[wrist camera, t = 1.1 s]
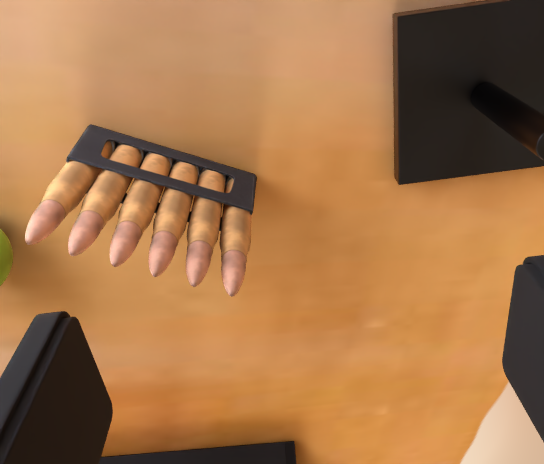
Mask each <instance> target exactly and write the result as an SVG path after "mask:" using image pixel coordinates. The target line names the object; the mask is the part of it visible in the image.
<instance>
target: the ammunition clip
mask: <svg viewBox="0 0 544 464" xmlns="http://www.w3.org/2000/svg"><path fill="white" fill-rule="evenodd" d="M66 162H67V163H66V165H65V166H64V167H63V168H62V170H61V171H60V172H59V173H58V175H57V176H56V177H55V178H54V180H53V181H52V182H51V183H50V184H49V186H48V187H47V190H46V192H45V195H44V197H43V199H42V200H41V202H40V203H39V206H38V207H37V209H36V210H35V211H34V213H33V215H32V217H31V219H30V221H29V223H28V226H27V229H26V233H25V240H26V244H28V245H33V244H36V243H38V242H40V241H42V240H43V239H45V238H46V237H47V236H49V235H50V234H51V233H52V232H53V231H54V230H55V229H56V228H57V227H58V225H59V224H60V223H61V221H62V220H63V219H64V218H65V217H66V216H67V214H68V213H69V212H71V211H72V210H73V209H74V208H76V207H77V206H78V204H79V203H80V201H81V200H82V198H83V197H84V195H85V194H87V195H86V196H85V198H84V201H83V204H82V209H81V211H80V213H79V215H78V217H77V220H76V221H75V223H74V226H73V228H72V231H71V233H70V237H69V243H68V249H69V253H70V255H71V256H76V255H78V254H80V253H82V252H83V251H85V250H86V249H87V248H88V247H89V246H90V245H91V244H92V243H93V242H94V241H95V239H96V238H97V237H98V235H99V233H100V231H101V230H102V229H103V228H104V226H105V224H106V223H107V221H108V220H110V219H111V218H112V217H113V216H114V214H115V212H116V210H117V208H118V207H119V205H120V203H122V204H123V205H122V207H121V209H120V211H119V220H118V223H117V226H116V230H115V232H114V235H113V237H112V241H111V245H110V261H111V264H112V265H113V266H114V267H117V266H119V265H121V264H123V263H124V262H125V261H126V260H127V259H128V258H129V257H130V256H131V254H132V253H133V251H134V250H135V248H136V246H137V244H138V242H139V239H140V238H141V236H142V234H143V232H144V230H145V229H146V228H147V227H148V226H149V224H150V222H151V220H152V218H153V215H154V213H156V216H155V219H154V224H153V231H154V232H153V236H152V242H151V245H150V250H149V269H150V272H151V274H152V275H153V276H154V277H157V276H159V275H160V274H162V273H163V272H164V271H165V269H166V268H167V267H168V265H169V264H170V262H171V260H172V258H173V256H174V253H175V250H176V247H177V245H178V242H179V239H180V238H181V236H182V235H183V233H184V231H185V228H186V224H187V222H189V225H188V230H187V240H188V246H187V256H186V273H187V277H188V280H189V283H190V284H191V286H193V287H196V286H197V285H199V284H200V283H201V282H202V280H203V278H204V277H205V275H206V273H207V271H208V268H209V265H210V261H211V256H212V253H213V249H214V245H215V244H216V242H217V240H218V234H219V231H221V234H220V249H221V252H222V254H221V261H222V267H221V271H222V280H223V284H224V287H225V289H226V291H227V293H228V294H229V295H230V296H234V295H236V294H237V292H238V291H239V289H240V287H241V285H242V283H243V280H244V275H245V269H246V261H247V254H248V252H249V249H250V243H251V215H252V213H253V207H254V198H255V189H256V180H257V177H256V175H255V174H253V173H249V172H246V171H243V170H239V169H236V168H233V167H230V166H226V165H223V164H220V163H216V162H213V161H210V160H206V159H203V158H200V157H197V156H193V155H190V154H187V153H183V152H180V151H177V150H174V149H170V148H167V147H164V146H160V145H157V144H154V143H150V142H147V141H144V140H141V139H137V138H134V137H131V136H127V135H124V134H121V133H117V132H114V131H111V130H108V129H104V128H101V127H98V126H94V125H89V126H88V127H87V129H86V130H85V132H84V133H83V134H82V136H81V137H80V139H79V140H78V142H77V143H76V145H75V146H74V148H73V149H72V151H71V152H70V154H69V155H68V156H67V160H66ZM101 170H102V171H101ZM99 173H100V174H99ZM98 175H99V176H98ZM133 178H135V179H134V182H133V184H132V186H131V188H130V190H129V192H128V194H126V191H127V189H128V187H129V185H130V183H131V181H132V179H133ZM164 187H165V189H164V192H163V195H162V198H161V201H160V203H158V201H159V199H160V196H161V193H162V191H163V188H164ZM194 195H195V197H194V202H193V206H192V211H191V212H190V208H191V204H192V200H193V196H194ZM222 204H224V205H223V215H222V217H221V211H222Z"/></svg>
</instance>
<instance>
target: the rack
mask: <svg viewBox="0 0 544 464" xmlns="http://www.w3.org/2000/svg"><path fill="white" fill-rule="evenodd" d="M393 86H394V175H395V179H396V181H397V182H398V184H399V185H402V184H410V183H417V182H425V181H433V180H440V179H448V178H456V177H464V176H471V175H479V174H487V173H494V172H502V171H510V170H517V169H525V168H533V167H541V166H544V0H485V1H478V2H471V3H464V4H457V5H450V6H443V7H436V8H429V9H422V10H415V11H408V12H401V13H394V14H393Z"/></svg>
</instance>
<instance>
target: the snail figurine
mask: <svg viewBox="0 0 544 464" xmlns="http://www.w3.org/2000/svg"><path fill="white" fill-rule="evenodd" d="M12 263H13V251H12V247H11V244H10V241H9V239H8V237H7V236H6V234H5V233H4V232H3V231H2V230H1V229H0V286H1V285H2V284H3V282H4V281H5V280H6V278H7V277H8V275H9V273H10V270H11V267H12Z"/></svg>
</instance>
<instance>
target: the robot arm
mask: <svg viewBox="0 0 544 464" xmlns="http://www.w3.org/2000/svg"><path fill="white" fill-rule="evenodd" d="M502 363H503V369H504V372H505V375H506V377H507V379H508V380H509V382H510V384H511V385H512V387H513V389H514V390H515V393H516V394H517V396H518V398H519V400H520V401H521V403H522V405H523V407H524V408H525V410H526V412H527V414H528V415H529V417H530V419H531V421H532V423H533V424H534V426H535V428H536V430H537V431H538V433H539V435H540V437H541V438H542V440H543V442H544V255H541V256H532V257H527V258H525V260H524V262H523V265H518V266H517V267H516V270H515V275H514V282H513V289H512V296H511V302H510V309H509V316H508V323H507V330H506V337H505V344H504V351H503V358H502ZM112 413H113V410H112V403H111V400H110V397H109V395H108V392H107V390H106V387H105V385H104V382H103V380H102V377H101V375H100V372H99V370H98V368H97V365H96V363H95V360H94V358H93V355H92V353H91V350H90V348H89V345H88V343H87V340H86V338H85V335H84V333H83V330H82V328H81V325H80V323H79V321H78V319H77V318H76V317H70V315H69V314H68V313H67V312H65V311H61V312H53V313H44V314H38V315H36V317H35V318H34V319H33V321H32V323H31V324H30V326H29V328H28V330H27V332H26V333H25V335H24V337H23V339H22V340H21V342H20V344H19V346H18V347H17V349H16V351H15V353H14V355H13V356H12V358H11V360H10V362H9V363H8V365H7V367H6V369H5V370H4V372H3V374H2V376H1V378H0V464H99V462H100V458H101V455H102V451H103V448H104V444H105V441H106V437H107V434H108V431H109V427H110V424H111V420H112Z"/></svg>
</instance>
